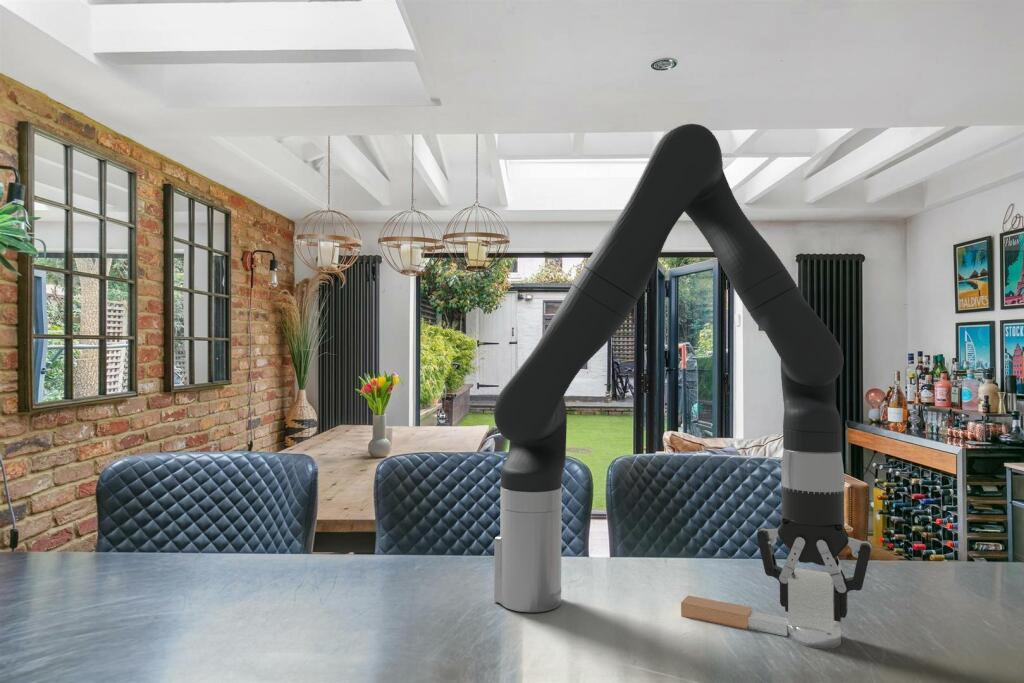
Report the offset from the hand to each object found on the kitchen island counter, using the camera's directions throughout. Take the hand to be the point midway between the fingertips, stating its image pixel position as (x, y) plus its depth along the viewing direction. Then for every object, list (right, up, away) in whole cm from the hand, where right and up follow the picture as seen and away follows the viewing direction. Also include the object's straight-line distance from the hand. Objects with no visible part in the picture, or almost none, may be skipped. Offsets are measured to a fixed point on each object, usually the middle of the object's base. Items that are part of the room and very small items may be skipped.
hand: (813, 614), depth 86 cm
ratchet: (-6, -3, +3) cm, 8 cm away
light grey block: (0, -1, 0) cm, 1 cm away
